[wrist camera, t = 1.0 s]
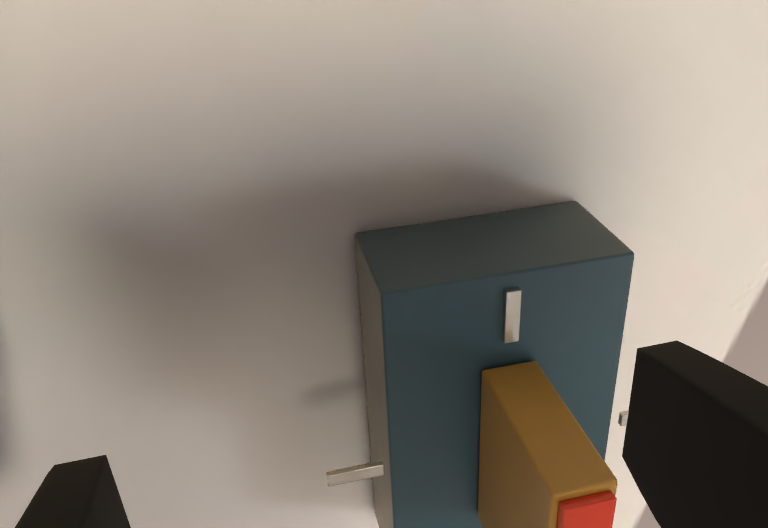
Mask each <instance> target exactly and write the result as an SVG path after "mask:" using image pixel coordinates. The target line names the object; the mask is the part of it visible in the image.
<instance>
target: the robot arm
mask: <svg viewBox="0 0 768 528" xmlns="http://www.w3.org/2000/svg"><path fill="white" fill-rule="evenodd" d="M622 457H623V459H624V461H625V463H626V464H627V466H628V468H629V470H630V472H631V474H632V476H633V478H634V480H635V482H636V484H637V486H638V488H639V490H640V492H641V494H642V495H643V497H644V499H645V501H646V503H647V504H648V506H649V508H650V510H651V511H652V513H653V515H654V517H655V519H656V520H657V522H658V523H659V525H660V526H661V528H768V386H766V385H764V384H762V383H760V382H758V381H756V380H754V379H753V378H751V377H749V376H747V375H745V374H743V373H741V372H739V371H737V370H735V369H734V368H732V367H729V366H728V365H726V364H724V363H722V362H720V361H718V360H716V359H714V358H712V357H710V356H708V355H706V354H704V353H702V352H700V351H698V350H696V349H694V348H692V347H690V346H687V345H685V344H683V343H681V342H679V341H673V342H668V343H663V344H658V345H653V346H648V347H643V348H638V349H637V355H636V362H635V369H634V376H633V383H632V390H631V397H630V405H629V412H628V419H627V426H626V433H625V440H624V447H623V454H622ZM15 528H131V527H130V524H129V521H128V519H127V516H126V513H125V510H124V507H123V504H122V501H121V498H120V495H119V492H118V489H117V486H116V483H115V480H114V477H113V474H112V471H111V468H110V465H109V462H108V459H107V457H106V455H103V456H98V457H93V458H88V459H83V460H78V461H73V462H68V463H63V464H58V465H54V467H53V468H52V469H51V470H50V471H49V473H48V474H47V476H46V477H45V479H44V481H43V482H42V484H41V485H40V487H39V489H38V490H37V492H36V494H35V495H34V497H33V499H32V500H31V502H30V504H29V505H28V507H27V509H26V510H25V512H24V514H23V515H22V517H21V519H20V520H19V522H18V524H17V525H16V527H15Z"/></svg>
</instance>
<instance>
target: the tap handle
mask: <svg viewBox="0 0 768 528" xmlns="http://www.w3.org/2000/svg"><path fill="white" fill-rule="evenodd" d="M616 488H617V479H616V478H615V476H614V475H613V473H612V472H611V470H610V469H609V467H608V466H607V464H606V463H605V461H604V460H603V458H602V457H601V456H600V454H599V453H598V451H597V450H596V448H595V447H594V445H593V444H592V442H591V441H590V439H589V438H588V437H587V435H586V434H585V432H584V431H583V429H582V428H581V426H580V425H579V423H578V422H577V420H576V419H575V417H574V416H573V415H572V413H571V412H570V410H569V409H568V407H567V406H566V404H565V403H564V401H563V400H562V398H561V397H560V395H559V394H558V393H557V391H556V390H555V388H554V387H553V385H552V384H551V382H550V381H549V379H548V378H547V376H546V375H545V373H544V372H543V371H542V369H541V368H540V366H539V365H538V363H537V362H536V361H530V362H524V363H519V364H513V365H508V366H503V367H497V368H492V369H486V370H483V371H482V385H481V421H480V457H479V493H478V517H479V520H480V522H481V524H482V527H483V528H612V525H613V518H614V512H615V506H616V500H617V499H616V497H615V494H616Z"/></svg>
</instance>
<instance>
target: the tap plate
mask: <svg viewBox="0 0 768 528" xmlns="http://www.w3.org/2000/svg"><path fill="white" fill-rule="evenodd" d="M355 247H356V261H357V274H358V288H359V302H360V315H361V329H362V343H363V356H364V370H365V384H366V397H367V411H368V425H369V438H370V452H371V463H367V464H362V465H357V466H352V467H348V468H343V469H338V470H333V471H328V472H326V475H327V483H328V486H333V485H338V484H343V483H348V482H353V481H357V480H362V479H367V478H372V479H373V493H374V506H375V514H376V517H377V521H378V525H379V528H483V527H482V524H481V522H480V520H479V517H478V493H479V457H480V421H481V385H482V371H483V370H486V369H492V368H497V367H503V366H508V365H513V364H519V363H524V362H530V361H536V362H537V363H538V365H539V366H540V368H541V369H542V371H543V372H544V373H545V375H546V376H547V378H548V379H549V381H550V382H551V384H552V385H553V387H554V388H555V390H556V391H557V393H558V394H559V395H560V397H561V398H562V400H563V401H564V403H565V404H566V406H567V407H568V409H569V410H570V412H571V413H572V415H573V416H574V417H575V419H576V420H577V422H578V423H579V425H580V426H581V428H582V429H583V431H584V432H585V434H586V435H587V437H588V438H589V439H590V441H591V442H592V444H593V445H594V447H595V448H596V450H597V451H598V453H599V454H600V456H601V457H602V458H603V460H605V453H606V447H607V440H608V433H609V426H610V419H611V412H612V405H613V398H614V391H615V384H616V377H617V371H618V364H619V357H620V350H621V343H622V336H623V329H624V322H625V315H626V308H627V301H628V295H629V288H630V281H631V274H632V267H633V260H634V253H633V251H631V250H630V249H629V248H628V247H627V246H626V245H625V244H624V243H623V242H621V241H620V240H619V239H618V238H617V237H616V236H615V235H614V234H613V233H611V232H610V231H609V230H608V229H607V228H606V227H605V226H604V225H603V224H601V223H600V222H599V221H598V220H597V219H596V218H595V217H594V216H593V215H591V214H590V213H589V212H588V211H587V210H586V209H585V208H584V207H582V206H581V205H580V204H579V203H578V202H576V201H574V202H567V203H560V204H553V205H546V206H539V207H533V208H526V209H519V210H512V211H505V212H498V213H491V214H485V215H478V216H471V217H464V218H457V219H450V220H443V221H437V222H430V223H423V224H416V225H409V226H402V227H396V228H389V229H382V230H375V231H368V232H361V233H356V234H355ZM628 412H629V411H624V412H620V414H619V421H618V423H619V424H620V425H621V426H624V425H627V419H628Z"/></svg>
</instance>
